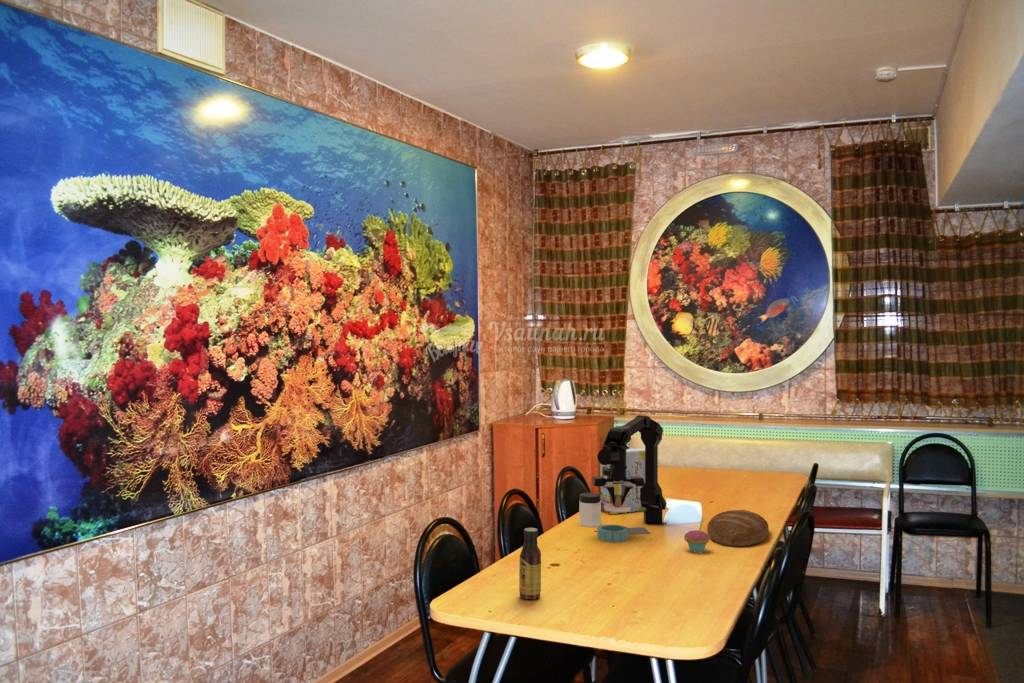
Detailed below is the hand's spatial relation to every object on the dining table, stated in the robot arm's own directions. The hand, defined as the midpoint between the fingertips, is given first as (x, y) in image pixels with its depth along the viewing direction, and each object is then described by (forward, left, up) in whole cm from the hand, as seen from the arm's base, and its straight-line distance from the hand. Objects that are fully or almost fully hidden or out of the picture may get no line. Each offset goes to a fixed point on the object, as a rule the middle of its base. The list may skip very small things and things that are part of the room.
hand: (617, 504), depth 314 cm
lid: (0, 0, -2) cm, 2 cm away
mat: (-9, -8, -12) cm, 17 cm away
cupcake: (-23, +21, -12) cm, 33 cm away
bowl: (+2, +2, -12) cm, 12 cm away
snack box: (-15, -44, -12) cm, 48 cm away
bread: (-46, +1, -13) cm, 48 cm away
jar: (+6, -20, -12) cm, 24 cm away
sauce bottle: (+42, +64, -12) cm, 78 cm away
